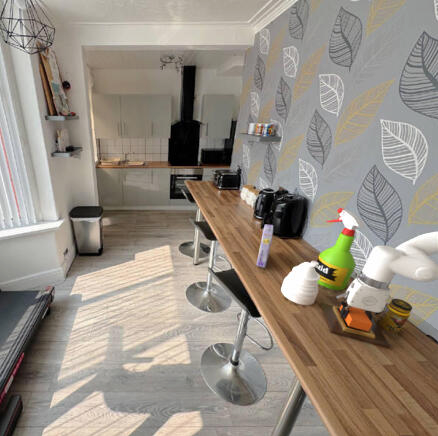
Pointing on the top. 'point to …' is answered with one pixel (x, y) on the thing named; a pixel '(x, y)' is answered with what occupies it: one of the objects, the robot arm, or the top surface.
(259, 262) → the cake pan box
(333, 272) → the spray bottle
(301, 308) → the top surface
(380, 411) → the top surface
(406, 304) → the condiment
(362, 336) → the board
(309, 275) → the honey pot
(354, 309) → the pad
